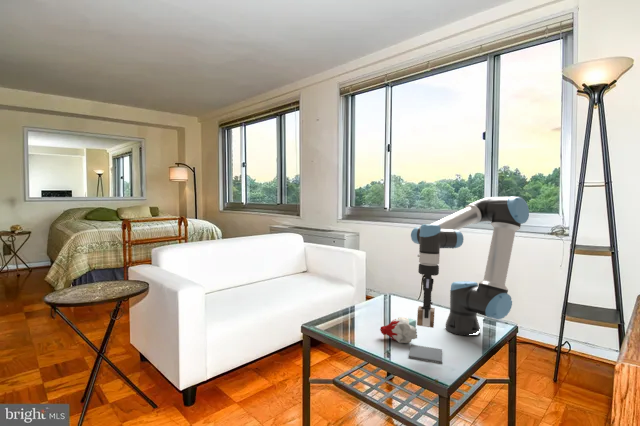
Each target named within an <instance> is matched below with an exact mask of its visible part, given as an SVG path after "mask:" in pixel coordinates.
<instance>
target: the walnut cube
mask: <svg viewBox="0 0 640 426" xmlns="http://www.w3.org/2000/svg"><path fill="white" fill-rule="evenodd" d="M421 307H423V305H422V306H421V305H418V307H417V314H416V315H417V320H416V326H419V327H423V326H422V322H423V309H421ZM435 308H436V307H431V310H430V327H429V328H431V329H432V328H434V326H435V325H434V324H435ZM424 327H426V326H424ZM426 328H427V327H426Z"/></svg>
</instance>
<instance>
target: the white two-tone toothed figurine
mask: <svg viewBox="0 0 640 426" xmlns="http://www.w3.org/2000/svg"><path fill="white" fill-rule="evenodd" d="M379 331H380V334H382V335H384V336H385V335H386V336H389V338H391V339H392V340H393V341H397V342H398V343H399V344H410V343H411V342H412V341H413V340H416V339H418V332H417V327H416V328H415V327H413V326H411V325H409V323H408V322H407V321H406V320H403V319H399V320H398V319H397V318H395V319H392V320H391V321H390V323H388V324H387V325H384V326H383V325H382V326H380V329H379Z"/></svg>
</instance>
